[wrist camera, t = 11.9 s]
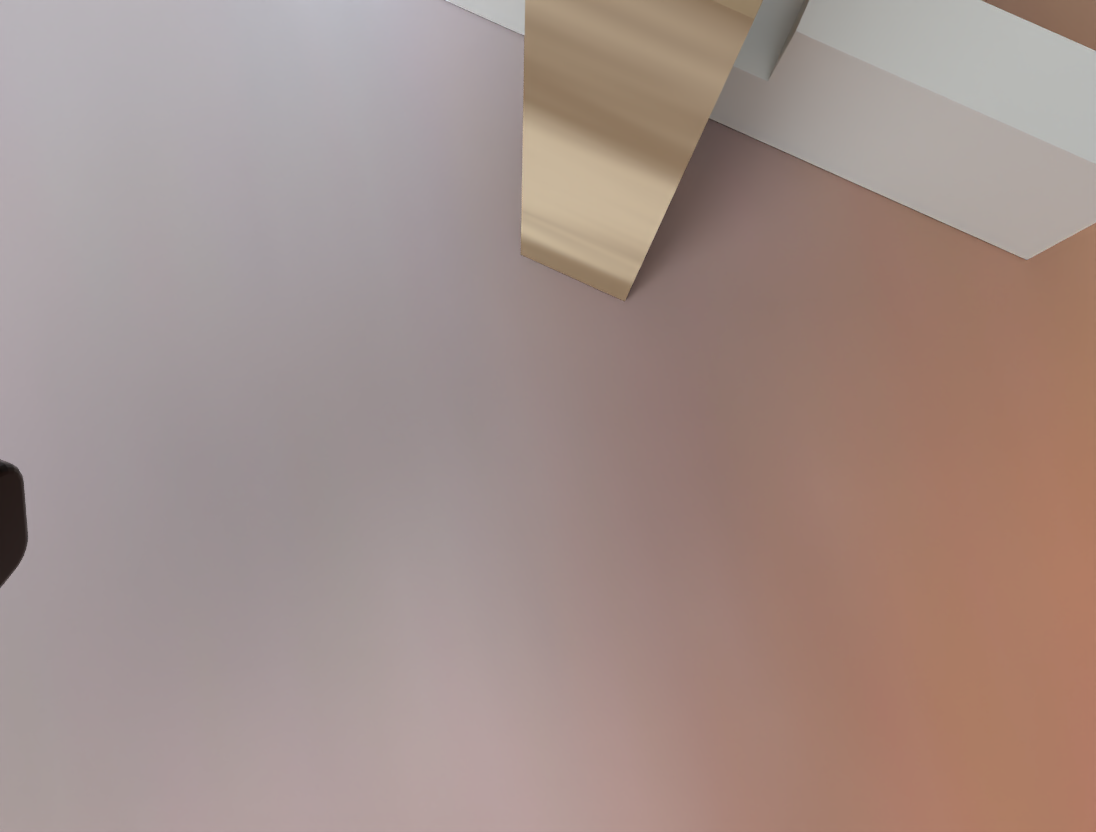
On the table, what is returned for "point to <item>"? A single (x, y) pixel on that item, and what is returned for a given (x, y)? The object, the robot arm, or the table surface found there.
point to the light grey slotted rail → (920, 108)
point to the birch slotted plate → (615, 123)
